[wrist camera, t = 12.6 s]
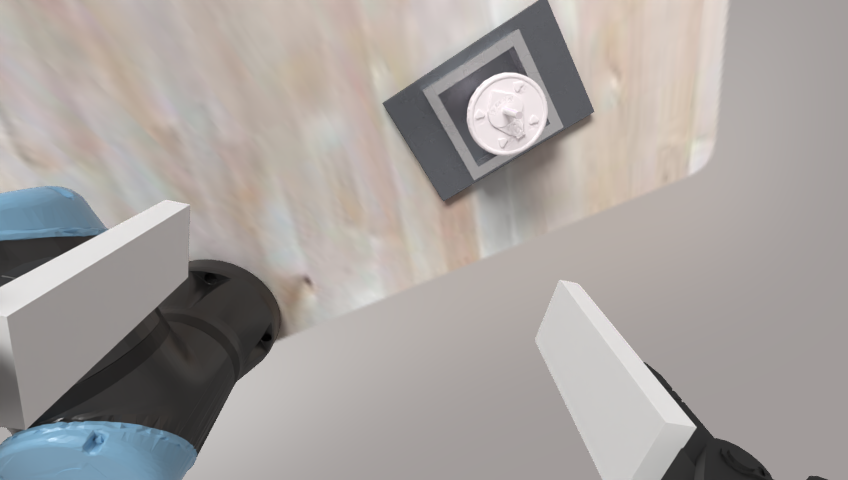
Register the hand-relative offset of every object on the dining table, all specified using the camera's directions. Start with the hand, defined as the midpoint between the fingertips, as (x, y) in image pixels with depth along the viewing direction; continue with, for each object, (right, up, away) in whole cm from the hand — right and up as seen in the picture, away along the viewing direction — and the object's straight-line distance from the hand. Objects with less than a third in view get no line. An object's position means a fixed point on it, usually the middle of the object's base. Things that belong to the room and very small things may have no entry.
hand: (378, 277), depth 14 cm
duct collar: (+8, +15, +27) cm, 32 cm away
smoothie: (+8, +15, +27) cm, 31 cm away
